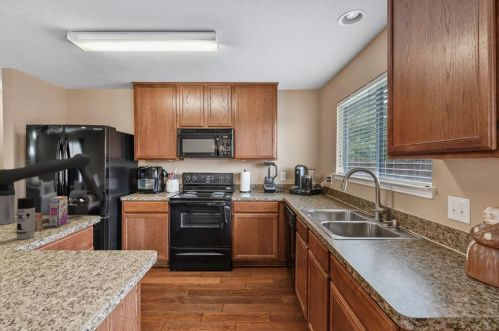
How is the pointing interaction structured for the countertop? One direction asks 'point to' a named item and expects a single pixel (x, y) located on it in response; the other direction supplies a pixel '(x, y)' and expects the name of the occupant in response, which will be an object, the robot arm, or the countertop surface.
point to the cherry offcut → (38, 217)
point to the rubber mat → (57, 226)
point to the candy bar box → (58, 211)
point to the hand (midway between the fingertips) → (71, 204)
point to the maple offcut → (39, 224)
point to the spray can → (25, 218)
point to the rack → (42, 223)
